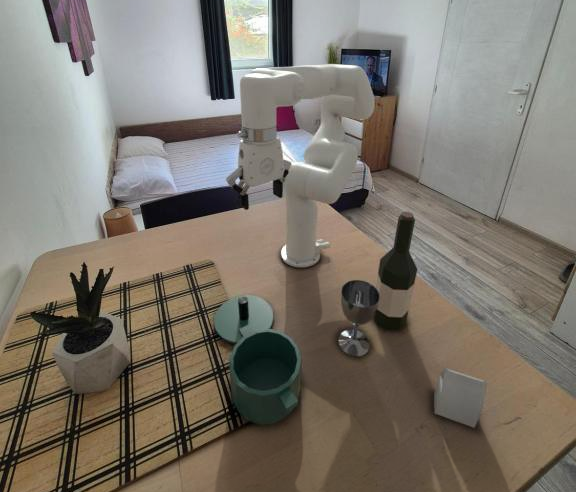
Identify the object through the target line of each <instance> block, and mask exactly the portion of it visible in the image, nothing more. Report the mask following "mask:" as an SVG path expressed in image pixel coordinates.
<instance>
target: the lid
mask: <svg viewBox="0 0 576 492" xmlns="http://www.w3.org/2000/svg"><path fill="white" fill-rule="evenodd" d="M213 318H214V319H213V327H214V330H215V332H216V334H217V335H218V336H219V337H220V338H221V339H222V340H224V341H225V342H227V343H230V344H234V345H236V344H237V343H238V342H239V341H240V340H241V339H242V336H241V335H240V333H239V329H240V328H242V327H245V326H247V325H250V327H251V328H252V330H253V331H256V330H263V329H272V326H273V323H274V311H273V308H272V306H271V304H270V303H269V302H267V300H266V299H264V298H262V297H260V296H256V295H252V294H242V295H238V296H234V297H231V298H229V299H227V300H226V301H225V302H223V303H222V305H220V306H219V307H218V308H217V310H216V312H215V313H214V317H213Z"/></svg>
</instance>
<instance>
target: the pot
mask: <svg viewBox="0 0 576 492" xmlns="http://www.w3.org/2000/svg"><path fill="white" fill-rule="evenodd" d="M239 333H240V335H241V336H242V339H241V340H240V341H239V342H238V343H237V344H234V345H233V348H232V351H231V354H230V356H229V359H228V361H229V362H228V363H229V365H228V367H229V379H230V390H231V400H232V401H233V405H234V407H235V409H236V410H237V412H238V413H239V414H240V416H241V417H243V418H244V419H245V420H247V421H248V422H250V423H254V424H256V425H265V426H267V425H272V424H275V423H277V422H280V421H283V420H284V419H286V417H288V416H289V415H290V414H291V413H292V412H293V410H294V409H295V408H296V407H297V406H298V405H299V397H300V394H301V393H300V392H301V385H302V384H301V383H302V381H301V380H302V357H301V351H300V347H299V346H298V345H297V344H296V342H295V341H294V339H293V338H292V337H291V336H290V335H288V334H286V333H285V332H283V331H281V330H277V329H272V328H270V329H263V330H256V331H253V330H252V328H251V327H250V325H247V326H245V327H242V328H240V329H239Z"/></svg>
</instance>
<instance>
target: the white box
mask: <svg viewBox="0 0 576 492" xmlns="http://www.w3.org/2000/svg"><path fill="white" fill-rule="evenodd" d="M487 382H488V381H487V380H484V379H480V378H478V377H474V376H471V375H468V374H464V373H462V372H458V371H455V370H452V369H449V368H445V367H444V369H443V371H442V372H441V373H440V374H439V378H438V381H437V383H436V387H435V391H434V394H433V403H434V405H433V407H434V414H435V415H438V416H440V417H443V418H446V419H449V420H451V421H454V422H457V423H459V424H463V425H465V426H468V427H471V428H473V429H475V428H476V425H477V423H478V420H479V418H480V416H481V414H482V411H483V408H484V404H485V397H486V396H485V395H486V390H487V385H488V383H487Z"/></svg>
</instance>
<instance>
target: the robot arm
mask: <svg viewBox="0 0 576 492" xmlns="http://www.w3.org/2000/svg"><path fill="white" fill-rule="evenodd" d="M239 97H240V115H241V128H240V131H237V133H236V134H237V137H238V139H240V140H239V145H238V154H237V155H238V156H237V168H236V169H235V170H233V172H231V173H230V174H229V175H227V177H226V178H225V181H226V182H227V184H228V185H229V186H230V188H231V189H232V190H233V191H235V192H237V203H238V205H239V207H241V208H242V209H244V210H245V211H247V210H249V208H250V202H249V200H250V199H249V194H248V190H249V189H250V188H253V187H258V186H261V185H264V184H267V183H271V182H272V194H273V195H274V196H276V197H277V198H279V199H282V198H284V197H283V192H284V195H285V245H283V246H282V248H281V250H280V257H281V259H282V261H283V262H284V263H285V264H287V265H289V266H291V267H295V268H308V267H312V266H314V265H315V264H317V263H318V262H319V260H320V259H321V251H322V250H326V249H330V248H331V243H330V242H329V241H325V242H324V239H323V238H322V239H317V232H318V231H317V230H318V229H317V228H318V210H319V209H318V203H317V202H319V203H322V204H326V205H333V204H335V203H336V202H337V201H338V200H339V198H340V197H341V195H342V193H343V192H344V189H345V188H346V186H347V185H348V183H349V181H350V179H351V177H352V175H353V173H354V171H355V169H356V167H357V164H358V163H357V162H358V158H359V154H358V153H359V152H358V149H357V147H356V146H355V145H354V144H352V143H351V142H347V141H344V139H345V136H346V132H345V128H344V125H343V124H342V122H341V120H340V118H339V117H341V118H348V119H354V120H362V121H363V120H367V119H369V118H371V116H372V115H373V113H374V111H375V105H376V102H375V101H376V100H375V96H374V92H373V89H372V86H371V83H370V79H369V77H368V75H367V73H366V71H365V70H364V69H363V67H361V66H359V65H355V64H351V65H350V64H340V63H339V64H337V63H325V64H315V65H314V64H311V65H295V66H277V67H275V66H273V67H260V68H254V69H253V70H251V71H250V72H249V73H248V74H245V75H243V76H241V78H240V80H239ZM319 98H321V100H320V125H319V128H318V129H317V131H316V132H315V134H314V135H313V137H312V138H311V140H310V141H309V143H308V144H307V146H306V148H305V149H304V151H303V161H304V162H302V161H295V162H291V161H289V160H287V159H284V153H283V147H282V141H281V137H280V136H278V135H277V130H278V129H277V108H279V107H280V108H281V107H293V106H296V105H297V104H299V103H300V102H301V101H302V100H314V99H319ZM237 179H238V180H239V181H238V182H237V183H236V180H237Z"/></svg>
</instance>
